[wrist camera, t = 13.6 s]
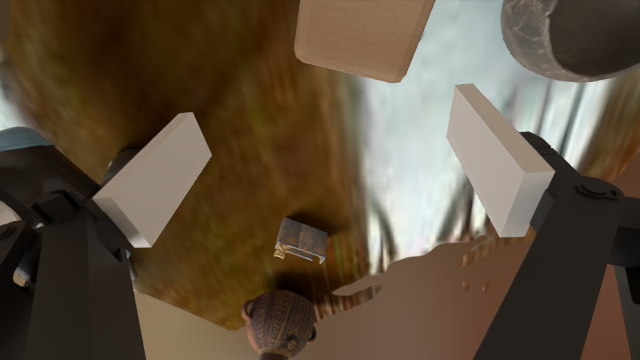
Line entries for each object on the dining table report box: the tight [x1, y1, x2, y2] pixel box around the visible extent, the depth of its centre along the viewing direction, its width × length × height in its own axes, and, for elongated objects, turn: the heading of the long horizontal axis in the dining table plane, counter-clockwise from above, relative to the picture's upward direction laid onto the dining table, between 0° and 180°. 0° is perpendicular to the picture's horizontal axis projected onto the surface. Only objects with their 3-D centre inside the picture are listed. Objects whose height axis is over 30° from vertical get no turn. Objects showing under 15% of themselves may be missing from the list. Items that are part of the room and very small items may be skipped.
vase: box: [241, 290, 316, 360], centre depth 78 cm, size 25×20×30 cm
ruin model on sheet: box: [274, 217, 328, 264], centre depth 66 cm, size 11×3×10 cm, turn 66°
